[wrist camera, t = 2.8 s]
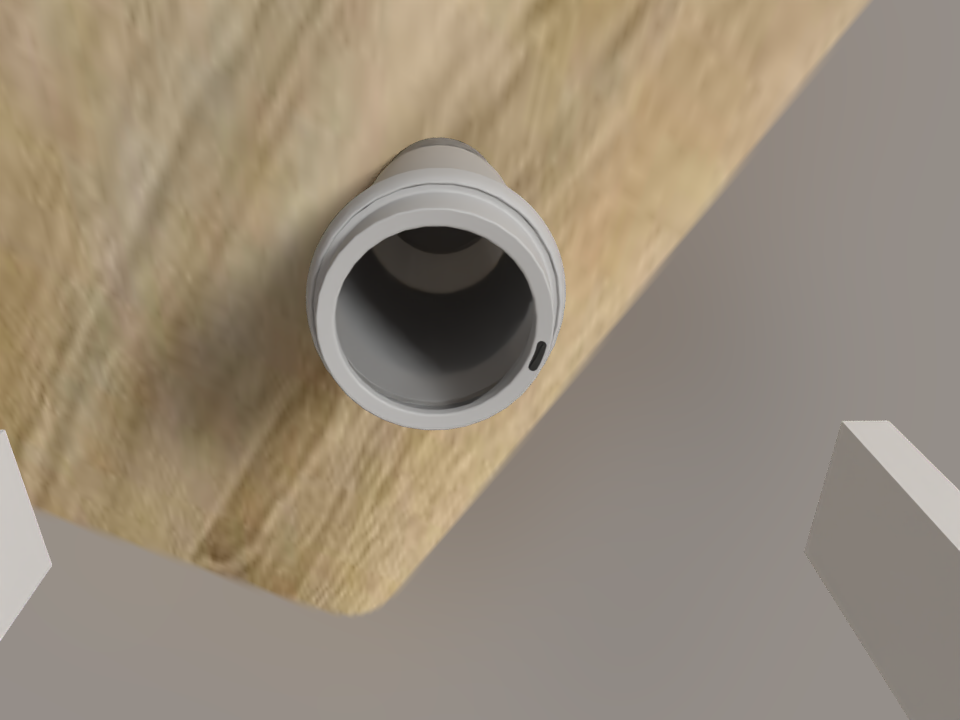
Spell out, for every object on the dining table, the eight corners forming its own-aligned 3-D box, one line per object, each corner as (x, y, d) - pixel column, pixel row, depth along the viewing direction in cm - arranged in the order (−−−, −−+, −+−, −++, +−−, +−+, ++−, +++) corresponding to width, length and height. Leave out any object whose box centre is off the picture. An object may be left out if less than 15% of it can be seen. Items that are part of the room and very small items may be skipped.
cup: (491, 302, 30) (515, 474, 19) (335, 256, 29) (270, 413, 18) (552, 135, 27) (619, 232, 16) (380, 77, 26) (333, 141, 15)
